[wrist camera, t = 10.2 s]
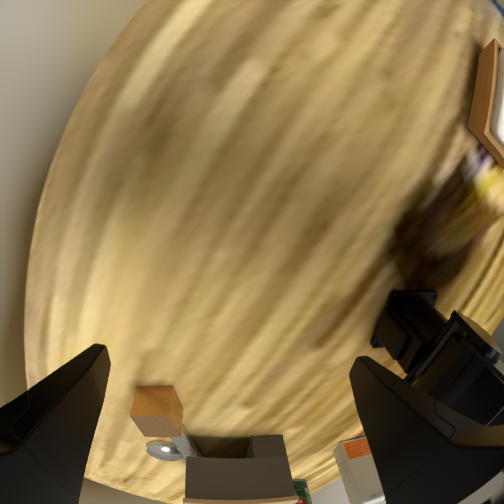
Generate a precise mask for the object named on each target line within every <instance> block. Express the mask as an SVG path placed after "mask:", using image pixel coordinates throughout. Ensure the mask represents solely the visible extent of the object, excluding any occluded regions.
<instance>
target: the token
mask: <svg viewBox="0 0 504 504" xmlns="http://www.w3.org/2000/svg"><path fill="white" fill-rule="evenodd" d="M147 452H148V454H150V455H151V456H153V457H155V458H157V459H161V460H165V461H176V460H180V459H181V458H182V456H183V455H182V454H181V452H180V451H179V449H178V448H177V446H176V445H175V444H174V443H171V442H167V441H159V440H157V441H151V442H149V443H148V445H147Z"/></svg>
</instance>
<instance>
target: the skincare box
mask: <svg viewBox="0 0 504 504" xmlns="http://www.w3.org/2000/svg"><path fill="white" fill-rule="evenodd" d="M334 456H335V459H336V462H337V465H338V468H339V471H340V474H341V477H342V480H343V483H344V486H345V489H346V492H347V495H348V499H349V502H350V504H375V503H377V502H380V501H383V500H385V497H384V496H385V495H384V493H383V489H382V486H381V483H380V479H379V476H378V473H377V469H376V466H375V463H374V460H373V457H372V454H371V450H370V447H369V444H368V441H367V438H366V436H364V437H360V438H356V439H352V440H347V441H341V442H340V443H339V445H338V447H337V448H336V450H335V452H334Z"/></svg>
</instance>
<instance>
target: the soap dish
mask: <svg viewBox="0 0 504 504" xmlns="http://www.w3.org/2000/svg"><path fill="white" fill-rule="evenodd" d="M467 128H468V129H469V130H470V131H471V132H472V133H473V134H474V135H475V137H476V138H477V139H478V140H479V141H480V142H481V143H482V144H483V145H484V147H485V148H486V149H487V150H488V151H489V153H490V154H491V155H492V156H493V157H494V159H495V160H496V161H497V162H498V164H499V165H500V166H501V167H502V168H503V169H504V48H503V47H502V46H501V45H500V44H499V42H498V41H497V40H496V39H493V40H492V41H491V42H490V43H489V44H488V45H487V47H486V48H485V49H484V50H483V51H482V52H481V53H480V54H479V58H478V67H477V75H476V82H475V89H474V95H473V100H472V105H471V111H470V115H469V120H468V124H467Z"/></svg>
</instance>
